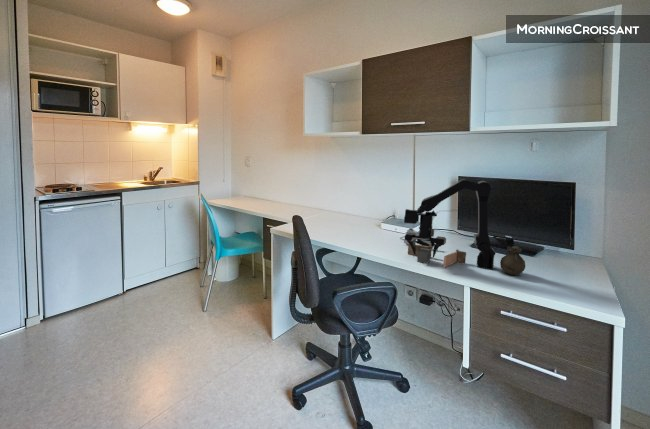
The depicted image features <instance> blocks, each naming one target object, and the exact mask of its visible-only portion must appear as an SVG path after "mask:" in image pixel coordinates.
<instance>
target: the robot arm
mask: <svg viewBox="0 0 650 429" xmlns="http://www.w3.org/2000/svg"><path fill="white" fill-rule="evenodd" d="M464 189H465V190H470V191H474V192H475V193H476V194H475V195H476V199H477V202H478V203H477V207H478V208H477V213H478V214H477V217H478V219H477V224H478V225H477V226H478V230H477V233H476V234H475V233H473V236H474V241H473V243H474V246H475V247H476V248H477V250H478V251H479V253H478V255H477V256H476V257H477V258H476V265H477V266H476V267H477V268H481V269H487V270H493V269H494V266H495V265H494V263H495V255H496V252H495V249H494V248H493V247H492V245H491V240H490V235H489V230H488V228H489V226H488V225H489V224H488V223H489V221H488V220H489V217H488V216H489V210H488V209H489V208H488V206H489V204H488V203H489V199H490V196H491V190H492V186H491V184H490V183H489V182H487V181H485V180H479V181H474V180H467V179H465V178H461V179H460V180H458V181H457V182H456V183H454V184H452V185H450V186H448V187H447V188H446V189H444V190H442V191H440V192H438V193H436V194H434V195H433V194H432V195H430V196H427V197H425V198H424V199H422V200H421V203H420V206H418V208H417V210H416V209H407V208H406V209H405V214H404V218H403V219H404V220H403V222H404V224H412V225H416V224H417V223H419V227H418V230H419V231H418V232H419V236H417V235H416V233H407V234H406V233H405V234H404V239H405V240H408V241H407V242H409V244H410V246H411V248H412V250H413V253H414V254H415V253H416V245H417V243H416V241H417V239H418V240H425V241H432V242H435V245H434V247H433V249H432V250H433V251H432V258H435V257H436V254H437V251H438V249H439V248H440V247H442V246H445V245H446V244H447V238H446V237H445V236H436V237H434V236H435V229H433V219H434V218H433V217H437V216H438V213H436V212H435V210H434V209H435V208H436V207H437V206H439V204H440V203H441V202H443V201H445V200H447V199H448V198H450V197H452V196H453V195H454V194H457V193H458V192H460V191H462V190H464ZM424 212H425V213H424ZM423 238H424V239H423Z"/></svg>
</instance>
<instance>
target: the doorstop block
mask: <svg viewBox="0 0 650 429" xmlns="http://www.w3.org/2000/svg"><path fill="white" fill-rule="evenodd" d="M430 260H431V258H430V249H424V248H421V249H420V250H418V256H417V259H416V261H417V262H418V263H423V264H427V263H428V262H429V261H430ZM417 262H416V263H417Z"/></svg>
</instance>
